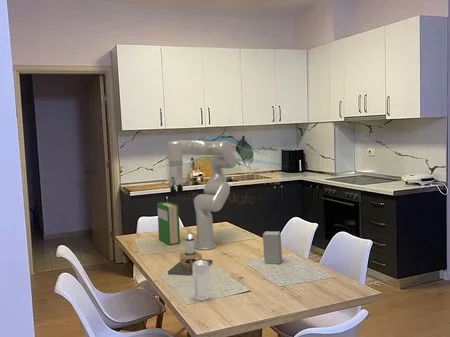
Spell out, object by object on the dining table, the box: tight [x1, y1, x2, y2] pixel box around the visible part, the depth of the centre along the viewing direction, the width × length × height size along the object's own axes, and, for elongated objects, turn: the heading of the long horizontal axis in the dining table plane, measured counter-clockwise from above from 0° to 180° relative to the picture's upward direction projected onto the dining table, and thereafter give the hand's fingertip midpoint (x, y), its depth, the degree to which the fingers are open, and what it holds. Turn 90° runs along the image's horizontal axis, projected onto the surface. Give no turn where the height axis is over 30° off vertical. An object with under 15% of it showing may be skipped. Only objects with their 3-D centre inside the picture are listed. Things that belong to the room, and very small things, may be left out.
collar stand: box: [167, 251, 213, 276], centre depth 227 cm, size 22×16×8 cm
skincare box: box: [262, 231, 283, 265], centre depth 232 cm, size 8×7×16 cm
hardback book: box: [156, 201, 181, 246], centre depth 283 cm, size 18×7×24 cm, turn 28°
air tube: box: [185, 232, 196, 263], centre depth 227 cm, size 5×5×16 cm
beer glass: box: [192, 260, 210, 301], centre depth 186 cm, size 7×7×15 cm
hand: (176, 195), depth 245 cm, fingers open, 9 cm apart
